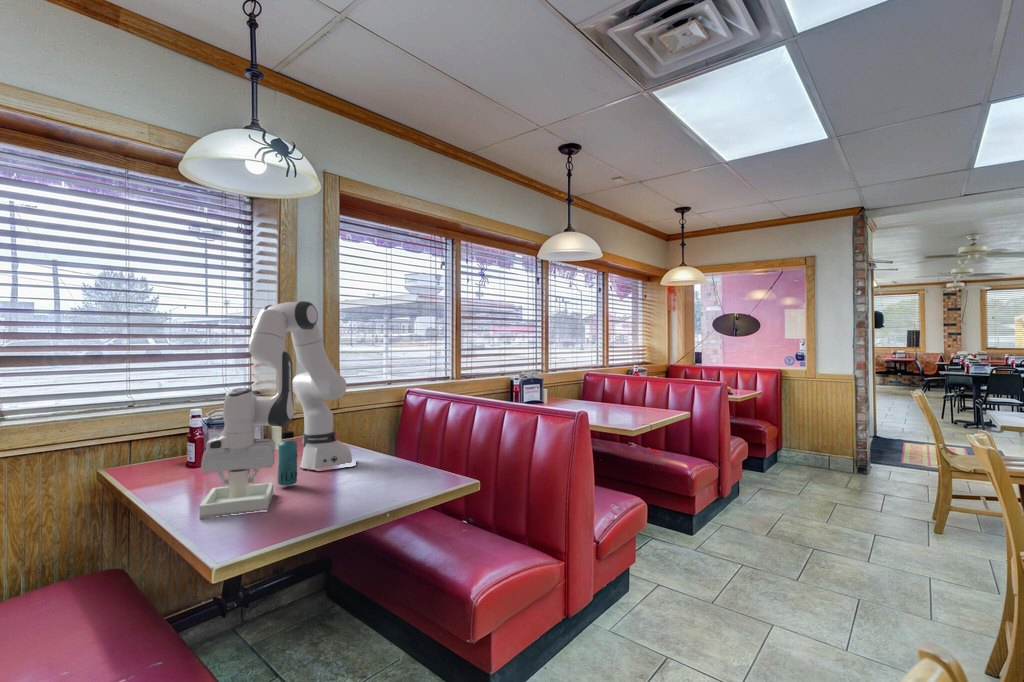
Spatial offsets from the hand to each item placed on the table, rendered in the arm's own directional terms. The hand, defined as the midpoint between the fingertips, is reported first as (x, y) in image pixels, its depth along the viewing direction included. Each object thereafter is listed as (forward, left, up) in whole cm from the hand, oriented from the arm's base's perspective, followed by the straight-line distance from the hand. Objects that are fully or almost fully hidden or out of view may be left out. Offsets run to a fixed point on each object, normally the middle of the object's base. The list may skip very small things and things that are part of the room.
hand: (238, 483), depth 155 cm
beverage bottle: (-13, -16, -7) cm, 22 cm away
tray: (0, 0, -7) cm, 7 cm away
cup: (0, 0, -4) cm, 4 cm away
